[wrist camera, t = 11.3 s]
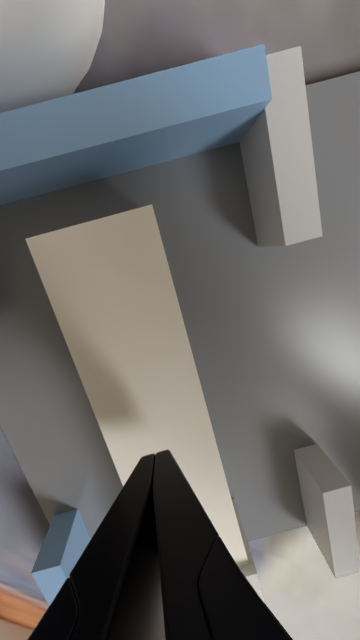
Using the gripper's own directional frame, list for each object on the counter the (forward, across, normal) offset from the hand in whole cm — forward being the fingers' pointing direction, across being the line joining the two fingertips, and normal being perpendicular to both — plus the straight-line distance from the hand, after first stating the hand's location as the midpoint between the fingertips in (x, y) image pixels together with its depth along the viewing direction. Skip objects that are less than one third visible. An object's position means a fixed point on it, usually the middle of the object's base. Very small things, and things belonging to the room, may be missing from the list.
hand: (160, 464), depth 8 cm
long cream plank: (+4, 0, 0) cm, 4 cm away
